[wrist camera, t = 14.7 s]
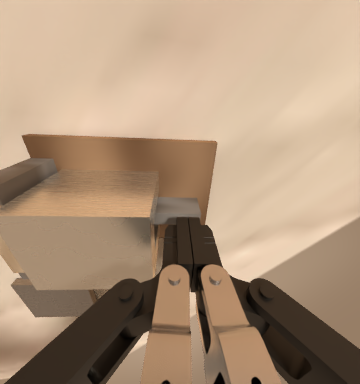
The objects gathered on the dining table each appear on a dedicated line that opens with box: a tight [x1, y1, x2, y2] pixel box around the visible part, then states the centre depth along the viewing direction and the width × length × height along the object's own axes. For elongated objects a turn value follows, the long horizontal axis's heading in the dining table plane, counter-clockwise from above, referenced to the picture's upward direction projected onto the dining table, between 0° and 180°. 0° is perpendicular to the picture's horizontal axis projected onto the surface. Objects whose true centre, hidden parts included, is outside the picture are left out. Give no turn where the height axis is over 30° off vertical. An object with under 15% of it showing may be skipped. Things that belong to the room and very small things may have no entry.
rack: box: [0, 134, 217, 279], centre depth 11 cm, size 13×9×5 cm
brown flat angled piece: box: [11, 278, 97, 317], centre depth 20 cm, size 8×7×1 cm
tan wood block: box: [0, 169, 160, 290], centre depth 11 cm, size 7×6×6 cm
